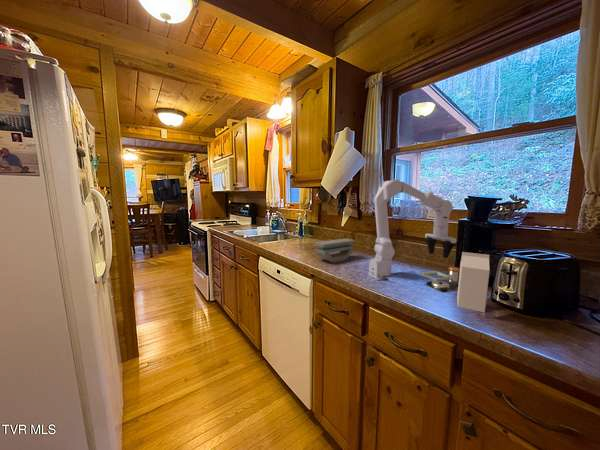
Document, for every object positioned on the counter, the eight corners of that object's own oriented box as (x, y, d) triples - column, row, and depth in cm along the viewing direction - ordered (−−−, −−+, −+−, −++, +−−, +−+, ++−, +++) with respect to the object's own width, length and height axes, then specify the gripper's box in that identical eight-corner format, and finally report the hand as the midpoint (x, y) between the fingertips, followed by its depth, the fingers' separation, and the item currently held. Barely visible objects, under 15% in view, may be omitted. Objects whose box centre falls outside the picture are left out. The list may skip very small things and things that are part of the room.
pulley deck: (443, 296, 89) (443, 287, 89) (423, 287, 98) (424, 279, 97) (468, 292, 93) (469, 283, 93) (447, 284, 102) (448, 276, 101)
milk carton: (484, 316, 74) (491, 257, 72) (457, 310, 78) (462, 254, 76) (481, 308, 80) (488, 252, 78) (456, 302, 84) (461, 250, 82)
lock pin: (453, 287, 94) (454, 269, 93) (445, 284, 98) (446, 267, 97) (459, 286, 95) (461, 269, 94) (451, 283, 99) (453, 266, 98)
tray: (435, 284, 102) (436, 278, 101) (420, 278, 109) (420, 272, 109) (451, 282, 104) (452, 276, 104) (435, 276, 112) (436, 271, 112)
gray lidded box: (322, 264, 129) (323, 244, 128) (313, 261, 136) (314, 242, 134) (354, 258, 143) (355, 240, 142) (345, 255, 150) (345, 238, 149)
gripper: (462, 228, 103) (459, 258, 105) (433, 224, 117) (431, 251, 118) (450, 228, 101) (447, 260, 102) (422, 224, 114) (420, 252, 116)
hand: (438, 255), depth 110 cm, fingers open, 7 cm apart
